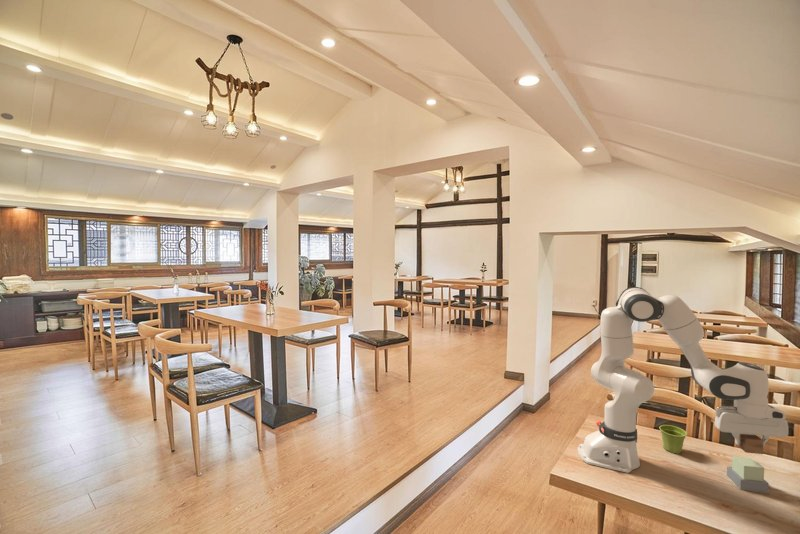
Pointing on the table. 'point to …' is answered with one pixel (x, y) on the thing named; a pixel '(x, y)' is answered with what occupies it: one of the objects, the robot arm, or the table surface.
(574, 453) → the table surface
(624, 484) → the table surface
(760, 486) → the base slab
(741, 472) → the tower cube
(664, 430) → the plant pot
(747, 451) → the walnut cube
